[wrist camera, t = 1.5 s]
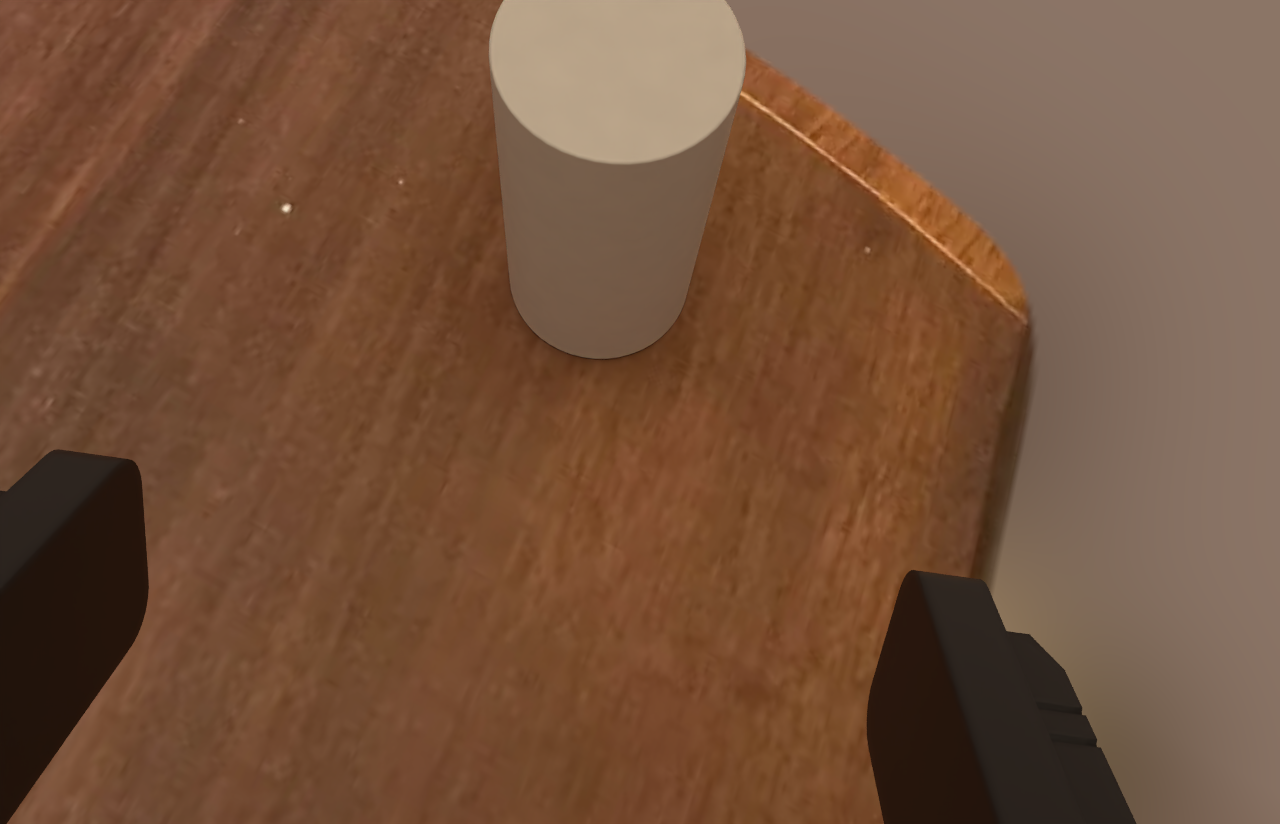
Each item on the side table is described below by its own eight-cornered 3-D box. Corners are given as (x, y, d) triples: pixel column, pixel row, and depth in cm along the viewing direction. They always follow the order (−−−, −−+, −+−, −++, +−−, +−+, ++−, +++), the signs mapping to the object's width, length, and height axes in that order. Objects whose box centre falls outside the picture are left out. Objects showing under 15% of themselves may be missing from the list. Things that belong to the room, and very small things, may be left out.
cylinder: (709, 227, 28) (775, -13, 20) (658, 382, 27) (706, 196, 18) (543, 175, 28) (537, -86, 20) (484, 327, 27) (451, 117, 18)
